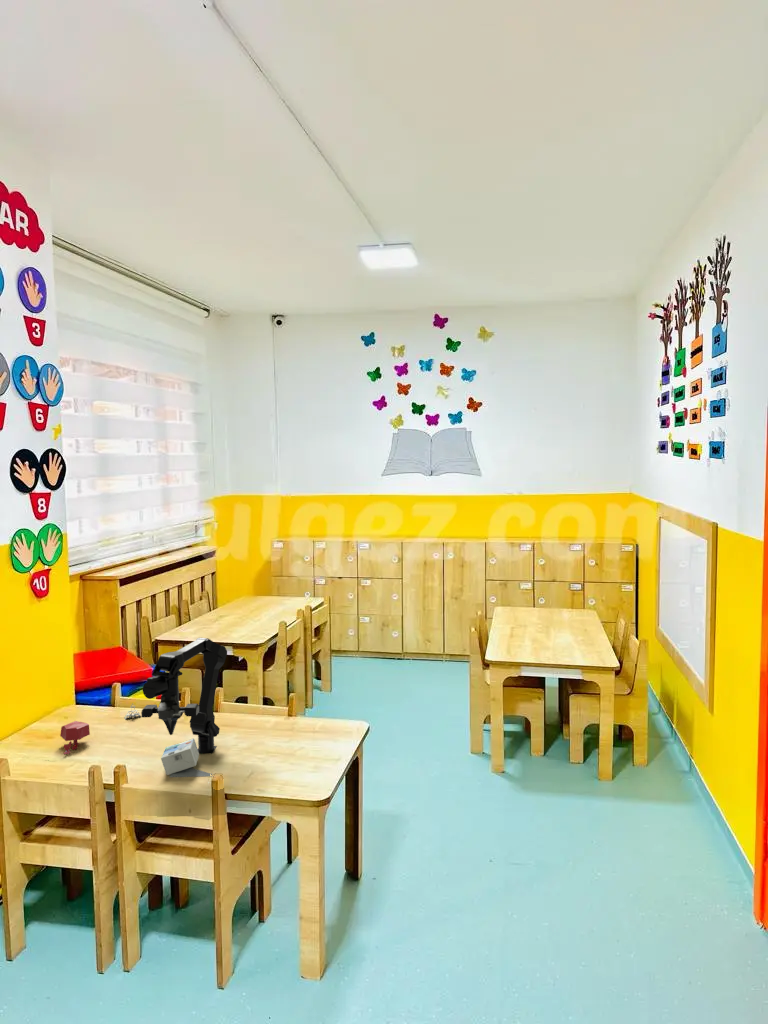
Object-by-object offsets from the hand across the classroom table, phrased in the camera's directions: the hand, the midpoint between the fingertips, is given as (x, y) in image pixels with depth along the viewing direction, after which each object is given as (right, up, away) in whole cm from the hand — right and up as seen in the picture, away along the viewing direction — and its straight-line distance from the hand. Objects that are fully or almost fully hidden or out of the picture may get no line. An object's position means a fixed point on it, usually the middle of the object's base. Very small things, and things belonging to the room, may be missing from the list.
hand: (171, 734), depth 257 cm
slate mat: (+11, -13, 0) cm, 17 cm away
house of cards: (-32, -11, +56) cm, 65 cm away
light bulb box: (+3, -9, -3) cm, 10 cm away
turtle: (-44, -13, +21) cm, 50 cm away
